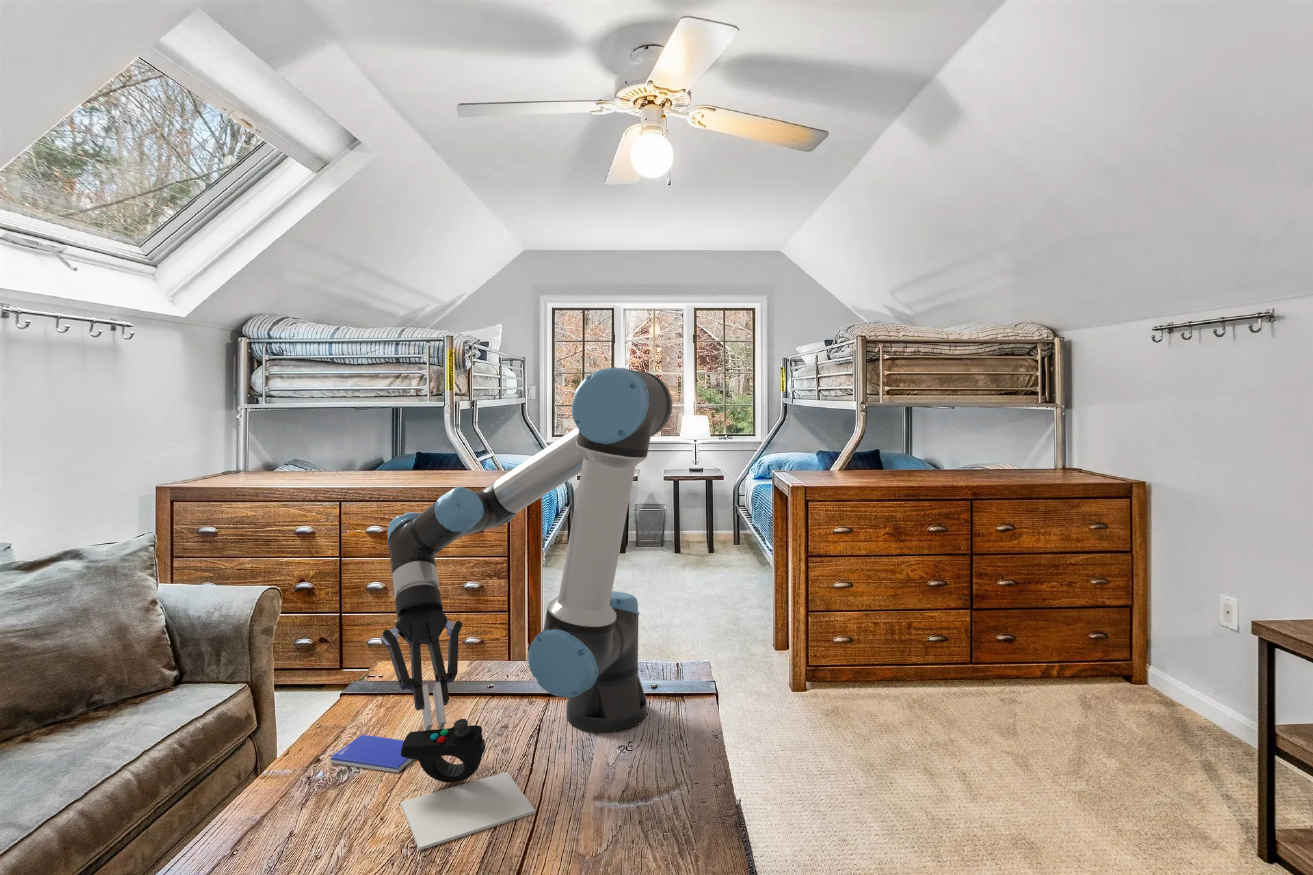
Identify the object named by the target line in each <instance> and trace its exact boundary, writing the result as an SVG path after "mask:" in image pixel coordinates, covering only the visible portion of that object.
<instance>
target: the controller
mask: <svg viewBox="0 0 1313 875" xmlns="http://www.w3.org/2000/svg"><path fill="white" fill-rule="evenodd" d="M482 733H483V728H482V726H481V725H475V724H474V725H472V724H471V725H469V721H468V720H467V719H466V718H459V719H457V720H456V721H455V722H454V723H453V726H452V727H449V728H443V729H438V728H437V729H431V730H426V731H425V730H419V731H411V732H409V733H408V734H407V735H406V736H405V738H404V739H403V740H404V742H403V744H402V749H401V756H402V757H404V758H409V759H413V760H415V761H418V763H419V764H420V767H421V768H422V770H423V771H424V773H426V775H428V776H429V777H430V778H432V779H433V780H436V781H439V782H442V783H448V784H451V783H452V784H455V783H459V782H463V781H466V780H467V779H470V778H471V777H472V776H473V775H474V774H475V773H476V771H478V770H479V767H480V766H481V765H480V764H481V762H482V759H483V754H484V753H485V752H486V747H487V746H486V745H485V741H486V740H485V739H483V734H482ZM445 756H447V757H449V756H450V757H455V758H457V760H458V759H459V760H460V761H461V762H462V763H459V764H458V763H457V764H455V763H451V762H449V761H447V760H445V758H443V757H445Z"/></svg>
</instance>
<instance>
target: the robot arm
mask: <svg viewBox="0 0 1313 875" xmlns="http://www.w3.org/2000/svg"><path fill="white" fill-rule="evenodd" d="M672 398H673V397H672V394H671V391H670V389H669V388H668V386H667V385H666V384H665V382H664V381H663V380H662V379H661V378H659V377H658V376H656V375H655V374H653V373H650V372H647V371H641V370H634V369H628V368H625V367H615V366H614V367H610V368H608V367H607V368H601V369H598V370H596V371H594V372H592V373H590V374H589V375H587V376H586V377H585V378H584V379H583V380H582V381H581V382H580V384H579V385H578V386H577V388H576V390H575V392H574V394H573V398H572V403H571V415H572V419H573V420H572V421H573V422H574V423H575V425H576V427H575V428H573V429H572V430H570V431H569V432H567V433H565V434H564V435H562V436H560V438H558V439H556V440H554V441H553V442H552V443H551V444H549V445H548V446H546V447H545V448H543V449H541V450H540V451H539V452H537V453H535V454H534V455H532V456H531V457H529V458H528V459H526V460H525V461H524V462H522V463H521V464H519V465H517V466H516V467H514V468H513V469H511V470H510V471H508V472H507V473H506V474H504V475H502V476H501V477H499V478H498V479H496V480H495V481H494V482H492V483H490V484H489V485H488V486H486V487H485V488H483V489H481V490H478V491H475V492H474V491H473V490H472V489H469V488H466V487H464V486H457V487H454V488H452V489H451V490H449V491H448V492H446V493H444V494H442V495H440V497H439V498H437V499H436V501H435V502H433V503H432V504H431V505H430V506H429V507H427V508H426V509H425V510H423V512H421V513H419V512H405V513H403V515H397V516H395V517H394V518H393V519H392V520H391V521H390V522H389V524H388V527H387V548H388V552H389V562H390V569H391V573H392V574H391V575H392V583H393V585H392V586H393V594H394V595H393V596H394V597H395V598H394V604H395V612H396V622H395V625H394V626H393V627H392V628H391V629H384V630H383V633H382V636H381V640H380V641H381V643H382V644H383V645H384V646H385V647H386V649H387V650H388V654H389V657H390V659H391V663H392V666H393V669H394V672H395V675H396V678H397V679H396V680H397V682H398V685H399V688H400V689H401V690H402V691H404V690H410V691H411V693H412V694H413V695H412V696H413V703H414V709H415V711H421V712H422V719H423V726H424V731H426V730H432V727H433V725H434V723H433V722H434V721H433V714H432V708H431V707H432V706H431V701H430V699H431V698H430V690H429V686H428V685H429V684H428V683H426V684H425V683H424V684H423V671H422V670H423V669H422V668H423V667H422V653H421V646H422V645H427V648H428V651H429V655H430V660H431V663H432V664H431V665H432V669H433V674H434V679H435V683H434V686H433V688H432V694H433V702H434V710H435V716H436V717H435V718H436V724H437V729H445V728H444V727H445V725H446V723H447V720H446V712H445V706H447V705H448V704H449V700H450V694H449V687H448V684H450V683H453V682H455V680H456V678H457V675H458V670H459V669H458V665H459V663H458V662H459V660H458V659H459V634H460V632H461V630H462V627H463V622H462V621H460V620H458V621H456V622H453V621H451V620H449V619H448V617H447V615H446V614H445V612H444V608H443V602H442V596H441V591H440V583H439V577H438V571H437V564H436V554H438V553H439V552H441V551H443V550H444V549H445V548H446V547H447V546H448V545H450V544H452V543H453V542H454V541H456V540H458V539H459V538H461V537H465V536H468V535H471V534H474V533H478V532H482V531H485V530H489V529H493V528H498V527H501V526H503V525H505V524H507V523H509V522H511V521H513V519H514V518H515V517H516V514H518V513H520V511H522V510H524V509H525V508H527V507H528V506H530V505H532V504H533V503H534V502H536V501H537V500H539V499H541V498H543V497H544V496H546V495H547V494H549V493H550V492H553V491H554V490H555V489H558V488H559V487H560V486H561V485H563V484H565V483H566V482H568V481H569V480H572V479H573V478H575V477H576V476H578V475H579V474H580V477H579V480H578V481H579V482H578V487H577V492H576V499H575V504H574V510H573V515H572V522H571V527H570V531H569V532H570V533H569V536H568V541H567V542H568V543H567V548H566V555H565V560H564V565H563V570H562V576H561V580H560V586H559V592H558V596H557V597H555V598H554V599H551V600H550V602H548V605H547V610H546V614H545V619H544V625H543V629H542V631H540V632H539V633H538V634H536V635H535V637H534V639H533V640H532V641H531V644H529V647H528V653H527V662H528V667H529V670H530V673H531V674H532V676H533V678H535V680H536V681H537V683H538V685H539V686H540V687H541V688H542V689H543V690H544V691H546V692H547V693H549V694H551V696H552V695H553V696H555V697H559V698H564V699H565V698H566V699H567V701H566V719H567V722H568V723H569V724H571V726H573V727H575V728H577V729H579V730H582V731H586V732H588V733H589V732H590V733H596V734H597V733H598V734H599V733H600V734H602V733H603V734H604V733H605V734H607V733H608V734H609V733H610V734H611V733H619V732H623V731H627V729H628V730H630V729H631V730H632V729H633V728H632V727H634V728H635V726H636V725H638V724H639V723H641V722H642V721H643V720H644V719H645V718H646V719H647V717H646V716H648V700H647V697H646V694H645V691H644V688H643V685H642V681H641V679H640V678H641V677H640V676H639V616H640V612H639V602H638V599H637V598H636V596H635V595H633V594H630V593H627V592H621V591H614V590H613V588H614V582H615V578H616V574H617V567H618V561H619V556H620V552H621V551H620V550H621V545H622V541H623V534H624V530H625V525H626V519H627V514H628V509H629V504H630V497H631V492H632V488H633V487H632V486H633V481H634V477H635V472H636V471H635V470H636V467H638V465H639V464H640V463H641V462H643V461H644V460H646V459H647V456H648V453H649V447H650V443H651V437H653V436H655V435H656V434H658V433H659V432H661V431H662V430H664V428H665V427H666V426H667V424H668V422H669V420H670V418H671V416H672V413H673V411H672V410H673V399H672ZM445 629H446V634H447V636H449V639H448V646H447V648H448V651H447V672H446V668H445V664H444V662H445V661H444V659H443V654H442V649H441V645H440V636H441V635H442V632H443V631H444V630H445ZM399 636H400V637H401V638H402V639H404V641H405V642H407V643H408V645H409V654H410V672H411V677H410V674H409V671H408V668H407V666H406V661H405V659H404V655H403V653H402V650H401V647H400V643H399V641H398V640H399ZM646 719H645V720H646ZM645 720H644V721H645ZM644 721H643V722H644ZM643 722H642V723H643ZM642 723H641V724H642ZM639 725H640V724H639ZM639 725H638V726H639ZM636 727H637V726H636Z"/></svg>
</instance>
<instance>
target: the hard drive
mask: <svg viewBox="0 0 1313 875" xmlns="http://www.w3.org/2000/svg"><path fill="white" fill-rule="evenodd" d="M404 740H405V739H403V740H402V739H398V738H397V739H395V738H388V737H382V736H375V735H367V734H361V735H358V737H357V738H355V739H354V740H352V741H351V742H350V743H348V744H346V745H345V746H344V747H342V748H341V749H339V751H337V752H335V753H334V754H333V755H332V756H331V757H330V761H329V762H330V764H335V765H336V764H337V765H341V764H342V765H343V766H349V767H355V768H363V769H370V770H376V771H384V772H391V773H399V772H401V771H402V770H403V769H404V768H406V767H407V765H409V764H410V763H411V762H412V761H413V760H414V759H409V758H404V757H402V756H401V749H402V744H403V742H404ZM342 765H341V766H342Z"/></svg>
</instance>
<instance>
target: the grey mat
mask: <svg viewBox="0 0 1313 875" xmlns="http://www.w3.org/2000/svg"><path fill="white" fill-rule="evenodd" d="M399 805H400V807H401V809H402V812H403V815H404V817H405V820H406V822H407V824H408V827H409V829H410V832H411V834H412V836H413V840H414V842H415V844H416V847H417V849H418V851H422V850H424V849H425V850H426V849H428V848H432V847H435V846H438V845H441V844H444V843H447V842H450V841H453V840H456V839H459V838H463V837H466V836H468V835H472V834H475V833H478V832H481V831H485V830H488V829H491V828H494V827H497V826H499V825H503V824H506V823H509V822H512V821H515V820H519V819H521V818H524V817H527V816H531V815H533V814H534V815H535V814H536V809H535V808H534V806H533V805H532V804H531V802H530V801H529V799H528V798H527V797H526V795H525V794H524V793H523V791H522V789H520V787H519V786H518V783H516V782H515V780H514V779H513V778H512V776H511V775H510V773H509V772H508V771H505V772H501V773H498V774H494V775H491V776H488V777H485V778H481V779H476V780H473V781H470V782H466V783H462V784H460V785H456V786H452V787H449V788H445V789H441V790H438V791H434V792H431V793H427V794H424V795H423V794H422V795H419V796H416V797H412V798H410V799H405V800H403V801H400V804H399Z"/></svg>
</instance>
